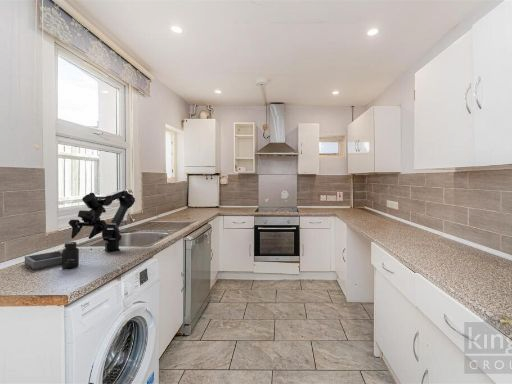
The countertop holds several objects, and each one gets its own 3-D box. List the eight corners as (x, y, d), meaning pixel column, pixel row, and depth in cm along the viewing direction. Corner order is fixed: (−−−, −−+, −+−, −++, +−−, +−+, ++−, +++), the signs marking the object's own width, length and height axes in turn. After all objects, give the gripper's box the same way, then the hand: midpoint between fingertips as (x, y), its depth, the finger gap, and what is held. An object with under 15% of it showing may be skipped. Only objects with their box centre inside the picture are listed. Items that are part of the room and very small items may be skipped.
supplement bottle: (69, 270, 129) (68, 245, 129) (58, 268, 132) (58, 243, 131) (82, 266, 136) (82, 241, 135) (72, 264, 138) (71, 240, 138)
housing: (60, 257, 150) (60, 250, 149) (70, 263, 140) (70, 255, 140) (24, 264, 138) (24, 256, 138) (33, 270, 129) (33, 262, 128)
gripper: (70, 204, 146) (54, 228, 135) (104, 204, 144) (90, 229, 133) (81, 217, 154) (66, 241, 143) (113, 217, 152) (100, 242, 142)
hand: (80, 238), depth 140 cm, fingers open, 9 cm apart
